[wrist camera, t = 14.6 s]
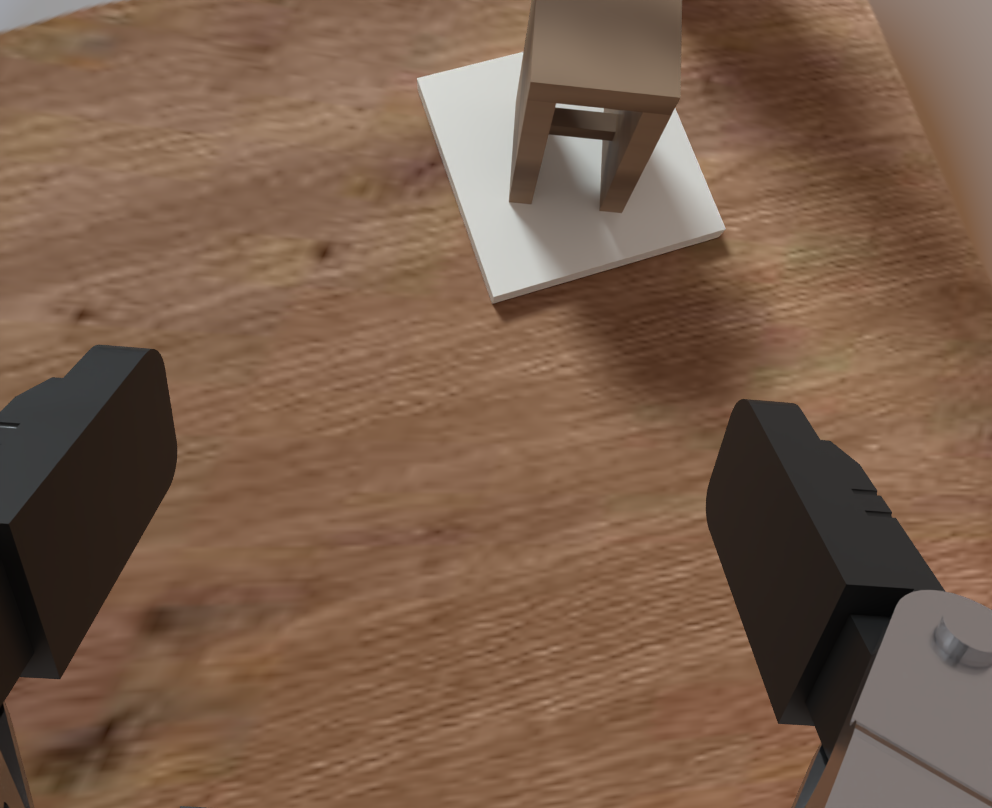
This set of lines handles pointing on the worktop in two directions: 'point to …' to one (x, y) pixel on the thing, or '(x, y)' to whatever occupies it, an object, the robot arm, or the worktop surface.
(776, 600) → the robot arm
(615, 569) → the worktop surface
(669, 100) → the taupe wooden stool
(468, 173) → the off-white board
